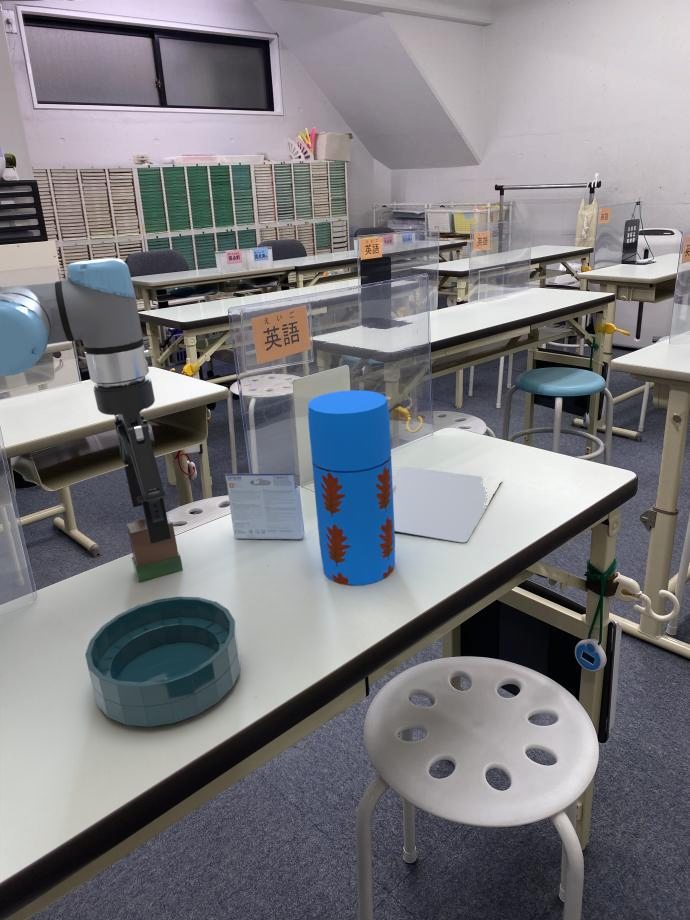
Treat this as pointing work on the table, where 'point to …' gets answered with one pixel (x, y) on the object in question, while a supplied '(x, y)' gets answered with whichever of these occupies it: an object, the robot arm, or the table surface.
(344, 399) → the thermos
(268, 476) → the ink box
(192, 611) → the bowl
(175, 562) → the sponge
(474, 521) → the white flat square sheet
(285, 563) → the table surface
